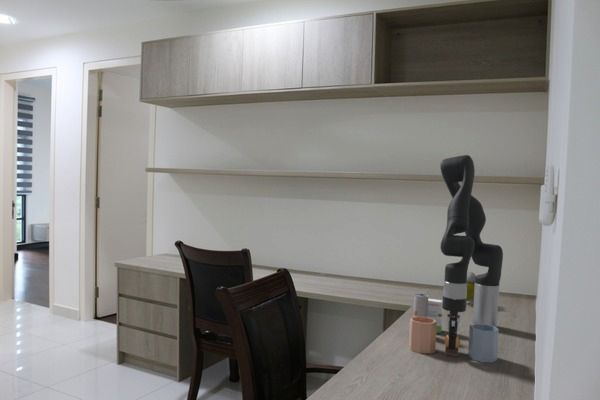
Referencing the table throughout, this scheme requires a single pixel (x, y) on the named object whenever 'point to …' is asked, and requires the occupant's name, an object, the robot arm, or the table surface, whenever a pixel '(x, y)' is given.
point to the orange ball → (448, 341)
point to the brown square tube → (451, 351)
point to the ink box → (435, 312)
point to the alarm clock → (470, 287)
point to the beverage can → (420, 305)
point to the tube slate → (483, 342)
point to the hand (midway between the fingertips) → (451, 346)
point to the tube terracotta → (422, 334)
